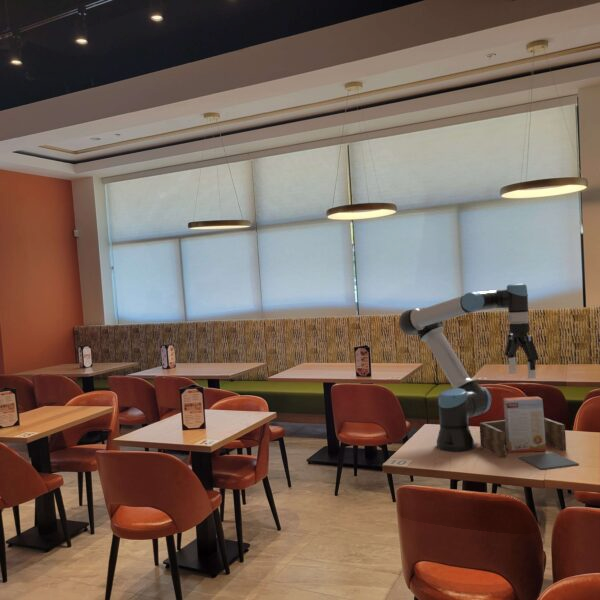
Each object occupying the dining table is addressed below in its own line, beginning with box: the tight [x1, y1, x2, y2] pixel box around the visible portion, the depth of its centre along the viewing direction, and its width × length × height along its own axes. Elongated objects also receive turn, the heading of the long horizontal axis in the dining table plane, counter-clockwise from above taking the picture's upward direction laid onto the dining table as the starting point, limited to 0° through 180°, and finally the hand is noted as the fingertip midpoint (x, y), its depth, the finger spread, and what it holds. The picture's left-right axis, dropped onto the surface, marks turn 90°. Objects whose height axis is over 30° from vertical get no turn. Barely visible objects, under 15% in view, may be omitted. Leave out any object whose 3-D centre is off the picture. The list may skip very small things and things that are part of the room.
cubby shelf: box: [479, 417, 567, 459], centre depth 232 cm, size 17×28×10 cm, turn 100°
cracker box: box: [502, 395, 547, 453], centre depth 230 cm, size 14×6×21 cm, turn 84°
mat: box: [517, 452, 580, 471], centre depth 214 cm, size 15×15×1 cm
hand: (522, 375), depth 229 cm, fingers open, 13 cm apart
